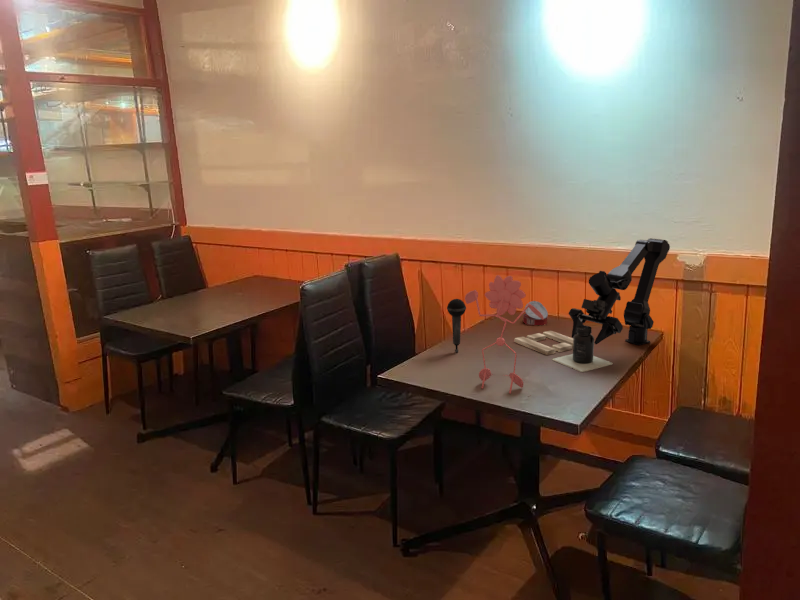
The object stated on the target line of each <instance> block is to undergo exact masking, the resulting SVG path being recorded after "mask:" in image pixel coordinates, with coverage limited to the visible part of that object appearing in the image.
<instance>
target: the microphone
mask: <svg viewBox="0 0 800 600" xmlns="http://www.w3.org/2000/svg"><path fill="white" fill-rule="evenodd" d="M466 306H467V305H466V303H465V302H464V301H463V300H462V299H459V298H453V299H451V300H449V302H448V304H447V306H446V310H447V313H448V314H449V315H450V316H451V322H452V323H451V326H452V344H453V345H454V346H455V349H454V352H455V353H459V348H458V346H459V345H460V344H461V329H462V328H461V327H462V316H463V315H464V314H465V312H466V310H467V307H466Z"/></svg>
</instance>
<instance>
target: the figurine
mask: <svg viewBox="0 0 800 600" xmlns="http://www.w3.org/2000/svg"><path fill="white" fill-rule="evenodd" d="M521 286H522V282H521V281H519V280H513V276H512V275H507V276H505V278H502V276H501V275H499V274H498V275H497V274H496V276H495V277H494V280H493V281H490V282H489V283H488V287H489V291H486V292H485V293H484V297H485V298H486V299H487V300H488V301H490V302H489V308H491V309H496V314H481V311H480V306H479V300H478V298H479V292H478V291H477V290H476V289H474V290H470V291H468V292H467V293H466V294H465V296H464V301H465V304H467V305H469V304H471V303H473V302H474V303H476V308H477V312H478V313H477V314H478V315H479V316H478V317H496V318H499V319H500V320H501V321H502V322H504V325H503V327H502V331H501V334H500V337H498V338H496V341H495V342H494V343H491V344H489V345H488V346H486V347H484V348H482V349H481V352H482V360H483V366H484V368H482V369H480V371H479V373H478V376H479V377H478V378H479V379H480V380H481V381H482V384H481V389H482V390H483V389H484V385H485V382H486V381H487V380H489V379H490V378H491V376H492V372H491V369H490V368H488V367H486V360H485V353H484V351H485V350H486V349H488V348H490V347H492V346H494V345H495V344H496V345H497V346H499V347H503V346H504V345H505V346H506V347H508V348H509V350H511V351H512V352H513V353H514V354H515V355H514V365H513V372H509V374H504V375H505V376H507V377H509V378H510V385H509V386H510V387H509V391H508V394H512V389H513V385H514V384H515V385H516V386H518V387H520V388H521V389H523V387H524V381H523V378H521V377H520V376H519V375H518V374H516V363H517V352H516V351H515V350H514V349H513V348H511V347H510V346H509V345H508V344H507V343H506V340H505V339H504V337H503V335H504V331H505V329H506V326H507V324H508V323H510V324H512V325H514V324H515V323H517V321H518V320H519V319H520V318H521V316H523V315H524V314H525V313H526V312H525V311H526V309H527V308H528V307H529V308H530V309H531V311H532V312H533V313H535V314H536V315H537V316H538V317H540V318H541V319H542V320H544V318H543V315H542V314H541V313H540V312H539V311H538V310H537V309H536V308H535V307H534V306H532V305H531V304H530V303H529V302H528V303H527V304H528V305H527V304H526V305H527V307H526V308H525V307H524V304H523V300H522V299H524V298H526V293H525V292H524V291H523V290H522V289H520V288H521ZM523 308H524V309H523ZM517 309H522V311H521V312H520V313H519V315H518V316H517V317H516V318H515V319H514V321H512V320H510V319H507V318H506V317H503V316H502V315H505V314H506V312H507V313H508V314H509V315H510V316H515V313H516V312H517ZM507 322H508V323H507ZM505 376H504V377H505ZM530 397H531V395H529V396H527V398H530Z"/></svg>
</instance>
